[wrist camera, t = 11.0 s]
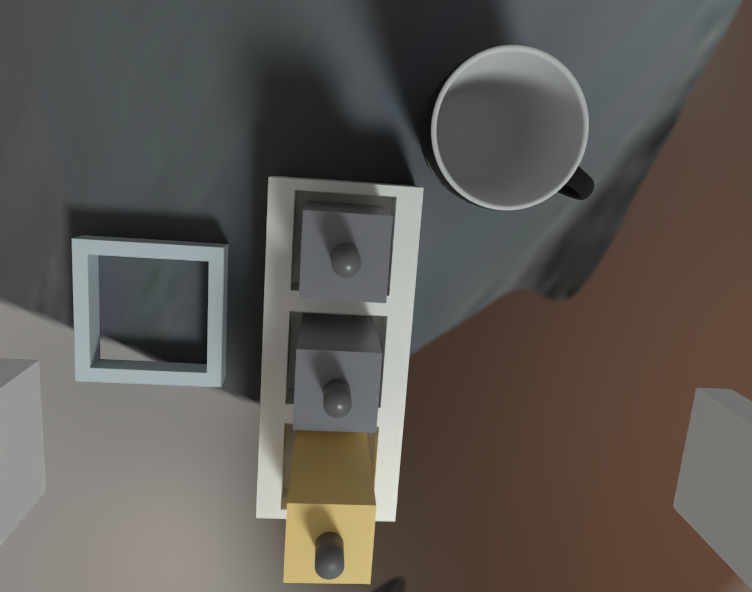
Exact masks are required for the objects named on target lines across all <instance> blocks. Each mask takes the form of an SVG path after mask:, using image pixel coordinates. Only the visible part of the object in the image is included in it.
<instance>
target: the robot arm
mask: <svg viewBox="0 0 752 592" xmlns="http://www.w3.org/2000/svg"><path fill="white" fill-rule="evenodd" d="M45 491H46V484H45V465H44V447H43V428H42V410H41V391H40V372H39V360H24V359H23V360H22V359H0V546H1V544H2V543H3V542H4V541H5V540H6V538H7V537H8V536H9V535H10V534H11V532H12V531H13V530H14V529H15V528H16V526H17V525H18V524H19V523H20V521H21V520H22V519H23V518H24V517H25V516H26V514H27V513H28V512H29V511H30V510H31V508H32V507H33V506H34V505H35V503H36V502H37V501H38V500H39V499H40V497H41V496H42V495H43V494H44V493H45ZM673 507H674V508H675V509H676V510H677V512H678V513H679V514H680V515H681V516H682V517H683V518H684V519H685V520H686V521H687V522H688V523H689V524H690V525H691V526H692V527H693V528H694V529H695V530H696V532H698V534H699V535H700V536H701V537H702V538H703V539H704V540H705V541H706V542H707V543H708V544H709V545H710V546H711V547H712V548H713V549H714V550H715V551H716V552H717V553H718V555H719V556H720V557H721V558H722V559H723V560H724V561H725V562H726V563H727V564H728V565H729V566H730V567H731V568H732V569H733V570H734V571H735V572H736V574H738V576H739V577H740V578H741V579H742V580H743V581H744V582H745V583H746V584H747V585H748V586H749V587H750V588H751V589H752V401H750V400H748V399H747V398H745V397H743V396H742V395H740V394H738V393H737V392H735V391H733V390H732V389H712V388H696V392H695V397H694V402H693V407H692V413H691V418H690V423H689V428H688V433H687V438H686V443H685V449H684V453H683V458H682V463H681V468H680V474H679V479H678V484H677V489H676V494H675V499H674V504H673Z"/></svg>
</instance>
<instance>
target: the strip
mask: <svg viewBox="0 0 752 592" xmlns="http://www.w3.org/2000/svg"><path fill="white" fill-rule="evenodd" d="M423 189H424V188H422V187H419V186H413V185H399V184H385V183H371V182H357V181H342V180H328V179H314V178H300V177H286V176H270V177H268V205H267V232H266V260H265V288H264V316H263V343H262V371H261V399H260V426H259V454H258V482H257V483H258V484H257V510H256V518H280V519H281V518H282V519H286V517H287V500H288V492H289V484H290V476H291V468H292V460H293V452H294V443H295V435H296V430H309V431H337V432H364V433H366V434H367V441H368V448H369V456H370V463H371V470H372V477H373V485H374V492H375V499H376V517H375V521H395V517H396V504H397V492H398V481H399V470H400V457H401V446H402V435H403V423H404V410H405V399H406V388H407V376H408V364H409V353H410V341H411V329H412V318H413V306H414V294H415V283H416V271H417V259H418V247H419V236H420V224H421V212H422V201H423Z"/></svg>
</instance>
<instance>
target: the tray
mask: <svg viewBox="0 0 752 592" xmlns="http://www.w3.org/2000/svg"><path fill="white" fill-rule="evenodd" d="M228 249H229V244H220V243H203V242H187V241H170V240H154V239H138V238H121V237H105V236H88V235H82V236H79V237H75V238H72V269H73V306H74V344H75V379H76V380H75V381H88V382H112V383H135V384H136V383H137V384H160V385H183V386H207V387H221V386H222V384H223V382H224V380H225V375H226V333H227V291H228ZM98 255H108V256H125V257H142V258H159V259H176V260H193V261H209V280H208V337H207V364H196V363H173V362H151V361H128V360H106V359H100V322H99V267H98Z"/></svg>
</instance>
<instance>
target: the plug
mask: <svg viewBox="0 0 752 592" xmlns="http://www.w3.org/2000/svg"><path fill="white" fill-rule="evenodd" d="M375 517H376V499H375V492H374V485H373V477H372V470H371V463H370V456H369V448H368V441H367V434H366V433H364V432H337V431H309V430H296V435H295V443H294V452H293V460H292V468H291V476H290V484H289V492H288V500H287V517H286V539H285V540H286V541H285V561H284V562H285V563H284V583H343V584H370V580H371V568H372V555H373V542H374V529H375Z"/></svg>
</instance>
